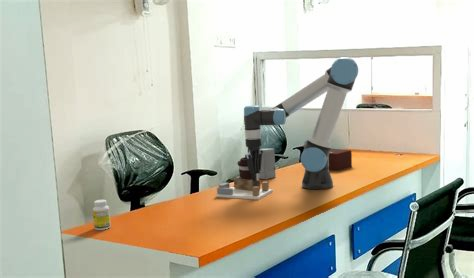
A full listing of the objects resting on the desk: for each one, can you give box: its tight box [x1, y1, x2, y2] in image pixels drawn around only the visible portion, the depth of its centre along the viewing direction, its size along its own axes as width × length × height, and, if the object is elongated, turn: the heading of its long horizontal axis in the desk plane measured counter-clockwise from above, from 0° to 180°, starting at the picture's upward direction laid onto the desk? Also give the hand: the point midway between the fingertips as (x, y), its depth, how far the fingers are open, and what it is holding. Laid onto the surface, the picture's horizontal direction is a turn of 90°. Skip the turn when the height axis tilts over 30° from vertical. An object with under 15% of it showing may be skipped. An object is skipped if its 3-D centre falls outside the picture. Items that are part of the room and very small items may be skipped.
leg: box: [233, 176, 261, 191], centre depth 268 cm, size 14×3×5 cm, turn 50°
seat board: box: [215, 181, 273, 200], centre depth 264 cm, size 22×16×5 cm
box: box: [329, 148, 353, 172], centre depth 322 cm, size 21×16×10 cm
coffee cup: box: [237, 156, 252, 180], centre depth 276 cm, size 10×10×15 cm
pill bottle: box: [92, 199, 111, 231], centre depth 217 cm, size 6×6×11 cm
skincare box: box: [258, 147, 276, 180], centre depth 300 cm, size 8×7×16 cm
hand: (255, 186), depth 268 cm, fingers closed
